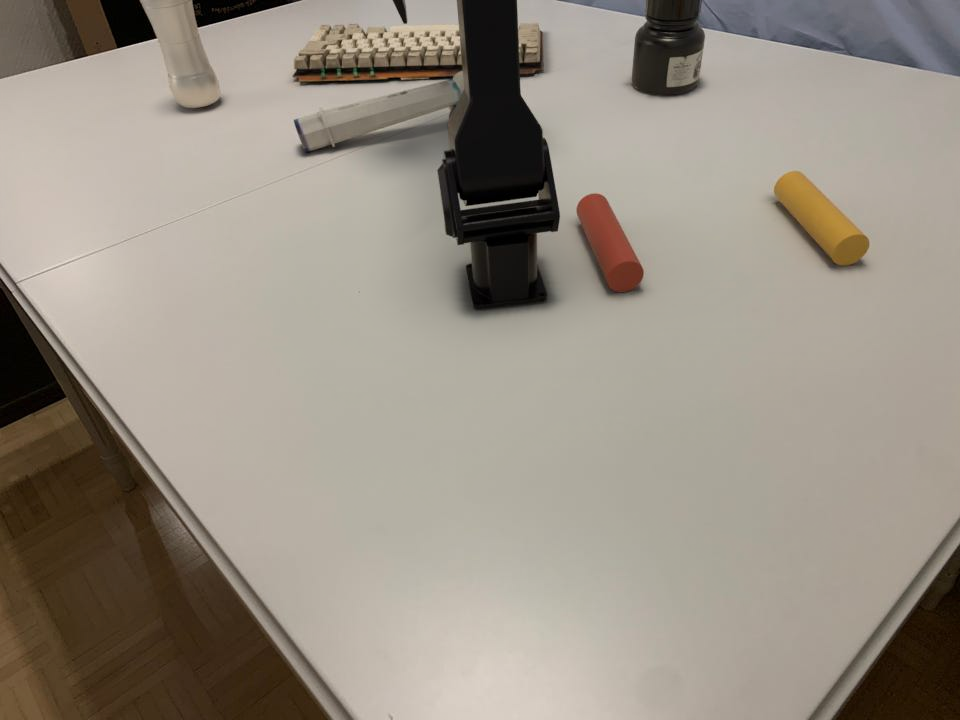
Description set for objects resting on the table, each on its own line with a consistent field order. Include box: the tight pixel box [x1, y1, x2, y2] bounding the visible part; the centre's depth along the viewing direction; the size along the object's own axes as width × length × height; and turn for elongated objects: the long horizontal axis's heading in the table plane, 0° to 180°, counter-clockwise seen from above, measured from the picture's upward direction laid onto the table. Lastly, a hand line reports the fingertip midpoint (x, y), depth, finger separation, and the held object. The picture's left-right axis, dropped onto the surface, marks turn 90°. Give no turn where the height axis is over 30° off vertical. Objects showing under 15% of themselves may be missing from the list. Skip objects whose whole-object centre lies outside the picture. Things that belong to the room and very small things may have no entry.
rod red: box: [575, 192, 645, 293], centre depth 65 cm, size 12×3×3 cm, turn 7°
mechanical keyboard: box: [292, 22, 544, 83], centre depth 108 cm, size 38×19×3 cm, turn 87°
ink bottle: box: [631, 0, 706, 95], centre depth 92 cm, size 10×9×12 cm
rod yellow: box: [773, 170, 870, 266], centre depth 66 cm, size 12×3×3 cm, turn 7°
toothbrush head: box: [293, 71, 464, 153], centre depth 88 cm, size 5×7×25 cm
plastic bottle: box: [139, 0, 221, 109], centre depth 94 cm, size 6×7×20 cm
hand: (448, 19), depth 76 cm, fingers open, 9 cm apart
